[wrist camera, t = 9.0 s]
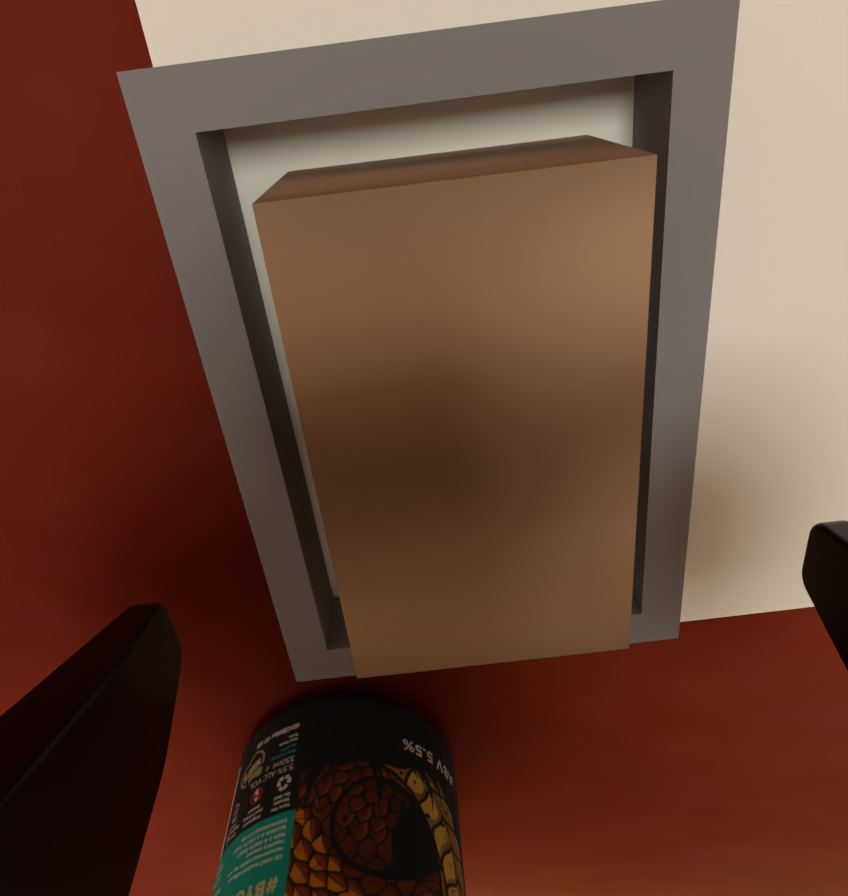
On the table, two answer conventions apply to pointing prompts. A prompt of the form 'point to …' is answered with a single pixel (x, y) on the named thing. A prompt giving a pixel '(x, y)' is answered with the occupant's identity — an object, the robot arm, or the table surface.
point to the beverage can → (344, 806)
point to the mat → (517, 121)
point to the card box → (471, 391)
